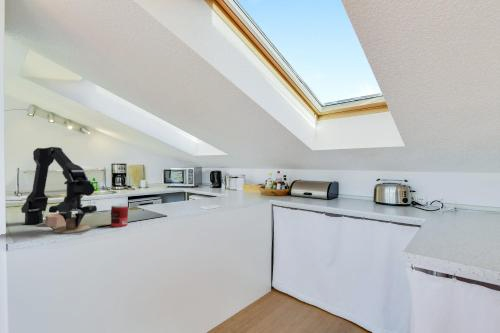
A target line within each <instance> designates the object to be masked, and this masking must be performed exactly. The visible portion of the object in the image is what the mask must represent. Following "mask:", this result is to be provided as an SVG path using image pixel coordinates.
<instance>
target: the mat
mask: <svg viewBox="0 0 500 333" xmlns="http://www.w3.org/2000/svg"><path fill="white" fill-rule="evenodd" d="M89 226H90V230H87V231H84V232H79V233H71V234H58V233H55V232H54V230H55V229H53V230H51V231H48V232H45V233H42V235H51V236H53V235H56V236H57V235H60V236H62V235H63V236H64V235H65V236H66V235H67V236H71V235H72V236H73V235H74V236H76V235H78V236H80V235H81V236H82V235H84V234H86V233H88V232H90V231H92V230H94V229H96V228H99V227H100V226H99V225H98V226H97V225H94V226H93V225H92V226H91V225H89Z"/></svg>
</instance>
